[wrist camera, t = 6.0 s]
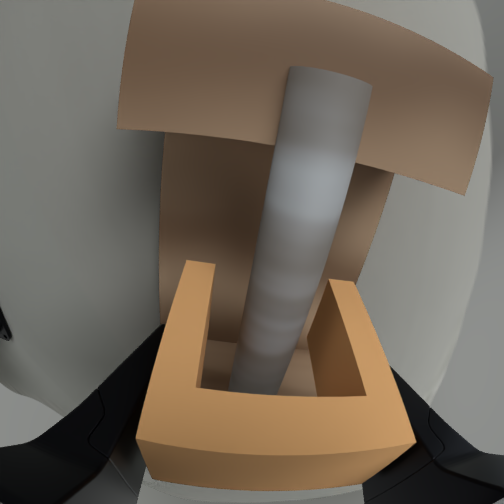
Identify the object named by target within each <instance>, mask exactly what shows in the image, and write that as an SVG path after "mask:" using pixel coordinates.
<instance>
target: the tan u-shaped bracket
mask: <svg viewBox="0 0 504 504" xmlns="http://www.w3.org/2000/svg"><path fill="white" fill-rule="evenodd" d="M215 265H216V264H212V263H205V262H198V261H191V260H186V263H185V266H184V269H183V272H182V275H181V278H180V281H179V284H178V288H177V291H176V294H175V297H174V300H173V303H172V306H171V310H170V313H169V316H168V319H167V323H166V326H165V329H164V333H163V336H162V340H161V343H160V346H159V350H158V353H157V357H156V361H155V364H154V368H153V371H152V375H151V379H150V382H149V386H148V390H147V394H146V398H145V401H144V405H143V409H142V413H141V417H140V421H139V426H138V430H137V434H136V441H137V444H138V446H139V449H140V451H141V454H142V456H143V459H144V461H145V463H146V466H147V468H148V470H149V473H150V475H151V477H152V479H155V480H160V481H166V482H171V483H177V484H184V485H191V486H199V487H207V488H217V489H230V490H249V491H292V490H311V489H324V488H334V487H342V486H350V485H357V484H362V483H363V482H365V481H366V480H368V479H369V478H371V477H372V476H374V475H375V474H376V473H378V472H379V471H381V470H382V469H383V468H385V467H386V466H387V465H389V464H390V463H391V462H393V461H394V460H395V459H396V458H398V457H399V456H400V455H401V454H403V453H404V452H405V451H406V450H408V449H409V448H410V447H411V446H412V445H414V444H415V443H416V439H415V436H414V433H413V430H412V427H411V424H410V421H409V418H408V415H407V412H406V410H405V407H404V404H403V401H402V398H401V396H400V393H399V390H398V387H397V385H396V382H395V379H394V377H393V374H392V371H391V369H390V366H389V364H388V361H387V359H386V356H385V354H384V351H383V349H382V346H381V344H380V341H379V339H378V336H377V334H376V332H375V329H374V327H373V325H372V322H371V320H370V318H369V315H368V313H367V311H366V308H365V306H364V304H363V302H362V299H361V297H360V295H359V293H358V290H357V288H356V286H355V284H354V282H352V281H343V280H335V279H328V282H327V284H326V287H325V290H324V293H323V296H322V298H321V301H320V304H319V306H318V309H317V312H316V314H315V317H314V320H313V322H312V325H311V328H310V330H309V333H308V335H307V343H308V348H309V353H310V359H311V364H312V370H313V375H314V381H315V387H316V393H317V397H302V396H277V395H261V394H249V393H238V392H228V391H219V390H211V389H203V388H200V386H201V379H202V371H203V364H204V357H205V350H206V343H207V336H208V329H209V320H210V311H211V301H212V292H213V283H214V274H215Z"/></svg>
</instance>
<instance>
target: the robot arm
mask: <svg viewBox="0 0 504 504" xmlns="http://www.w3.org/2000/svg"><path fill="white" fill-rule="evenodd" d="M165 326H166V324H161V325H160V326H159V327H158V328H157V329H156V330H155V331H154V332H153V333H152V334H151V335H150V336H149V337H148V338H147V339H146V340H145V341H144V342H143V343H142V344H141V345H140V346H139V347H138V348H137V349H136V350H135V351H134V352H133V353H132V354H131V355H130V356H129V357H128V358H127V359H126V360H125V361H124V362H123V363H122V364H121V365H120V366H119V367H118V368H117V369H116V370H115V371H114V372H113V373H112V374H111V375H110V376H109V377H108V378H107V379H106V380H105V381H104V382H103V383H102V384H101V385H100V386H99V387H98V389H95V390H94V391H93V392H92V393H91V394H90V395H89V396H88V397H87V398H86V399H85V400H84V401H83V402H82V403H81V404H80V405H79V406H78V407H76V408H75V409H74V410H73V411H72V412H70V413H69V414H68V415H67V416H65V417H64V418H63V419H61V420H60V421H59V422H58V423H56V424H55V425H54V426H52V427H51V428H50V429H48V430H47V431H46V432H44V433H43V434H42V435H40V436H39V437H37V438H36V439H34V440H32V441H30V442H27V443H24V444H18V445H13V446H7V447H0V504H137V500H138V498H137V497H138V495H139V491H140V488H141V484H142V480H143V476H144V472H145V468H146V463H145V461H144V459H143V456H142V454H141V451H140V449H139V446H138V444H137V441H136V434H137V430H138V426H139V421H140V417H141V413H142V409H143V405H144V401H145V398H146V394H147V390H148V386H149V382H150V379H151V375H152V371H153V368H154V364H155V361H156V357H157V353H158V350H159V346H160V343H161V340H162V336H163V333H164V329H165ZM11 337H12V336H11V334H10V331H9V329H8V327H7V325H6V322H5V320H4V318H3V315H2V313H1V310H0V338H2V339H5V340H7V341H9V340H10V339H11ZM389 366H390V365H389ZM390 369H391V371H392V374H393V377H394V379H395V382H396V385H397V387H398V390H399V393H400V396H401V398H402V401H403V404H404V407H405V410H406V412H407V415H408V418H409V421H410V424H411V427H412V430H413V433H414V436H415V439H416V443H415V444H414V445H412V446H411V447H410V448H409V449H408V450H406V451H405V452H404V453H403V454H401V455H400V456H399V457H398V458H396V459H395V460H394V461H393V462H391V463H390V464H389V465H387V466H386V467H385V468H383V469H382V470H381V471H379V472H378V473H376V474H375V475H374V476H372V477H371V478H369V479H368V480H366V481H365V482H363V483H362V487H363V495H364V502H365V503H364V504H504V455H496V454H488V453H484V452H482V451H479V450H478V449H476V448H475V447H473V446H472V445H471V444H470V443H468V442H467V441H466V440H465V439H464V438H463V437H462V436H461V435H459V434H458V433H457V432H456V431H455V430H454V429H452V428H451V427H450V426H449V425H448V424H447V423H446V422H445V421H444V420H443V419H442V418H441V417H440V416H439V415H438V414H437V413H436V412H435V411H434V410H433V409H432V408H430V406H429V405H428V404H427V403H426V402H425V401H424V400H423V399H422V398H421V397H420V396H419V395H418V394H417V393H416V392H415V391H414V390H413V389H412V388H411V387H410V386H409V385H408V384H407V383H406V382H405V381H404V380H403V379H402V378H401V377H400V376H399V374H398V373H397V372H396V371H395V370H394V369H393V368H392V367H391V366H390Z"/></svg>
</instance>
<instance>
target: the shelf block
mask: <svg viewBox="0 0 504 504" xmlns="http://www.w3.org/2000/svg"><path fill="white" fill-rule="evenodd" d="M492 84H493V77H492V76H490V75H489V74H488V73H486V72H485V71H483V70H482V69H480V68H478V67H477V66H475V65H474V64H472V63H471V62H469V61H467V60H466V59H464V58H462V57H461V56H459V55H457V54H455V53H454V52H452V51H450V50H448V49H447V48H445V47H443V46H441V45H439V44H437V43H435V42H433V41H431V40H429V39H427V38H425V37H423V36H421V35H419V34H417V33H415V32H413V31H410V30H408V29H406V28H404V27H401V26H399V25H397V24H394V23H392V22H389V21H387V20H384V19H382V18H379V17H376V16H374V15H371V14H368V13H365V12H363V11H360V10H357V9H353V8H350V7H347V6H344V5H341V4H337V3H334V2H330V1H326V0H135V1H134V5H133V10H132V14H131V19H130V25H129V30H128V35H127V41H126V47H125V54H124V61H123V68H122V76H121V85H120V94H119V105H118V118H117V129H128V130H147V131H162V132H165V137H164V149H163V162H162V177H161V195H160V221H159V300H160V325H161V324H166V323H167V319H168V316H169V313H170V310H171V306H172V303H173V300H174V297H175V294H176V291H177V288H178V284H179V281H180V278H181V275H182V272H183V269H184V266H185V263H186V260H191V261H198V262H205V263H212V264H216V265H215V274H214V283H213V292H212V301H211V311H210V320H209V329H208V336H207V343H206V350H205V357H204V364H203V371H202V379H201V386H200V388H203V389H211V390H219V391H228V392H238V393H249V394H261V395H277V396H302V397H317V393H316V387H315V381H314V375H313V370H312V364H311V359H310V353H309V348H308V343H307V335H308V333H309V330H310V328H311V325H312V322H313V320H314V317H315V314H316V312H317V309H318V306H319V304H320V301H321V298H322V296H323V293H324V290H325V287H326V284H327V282H328V279H335V280H343V281H352V282H354V284H355V285H356V282H357V280H358V277H359V275H360V272H361V270H362V267H363V264H364V262H365V259H366V257H367V254H368V251H369V249H370V246H371V243H372V240H373V238H374V235H375V232H376V229H377V226H378V223H379V220H380V217H381V214H382V211H383V208H384V205H385V202H386V199H387V196H388V193H389V190H390V186H391V183H392V180H393V176H394V173H396V174H400V175H403V176H407V177H410V178H413V179H416V180H420V181H423V182H426V183H429V184H432V185H435V186H438V187H441V188H444V189H447V190H450V191H453V192H455V193H458V194H461V195H464V196H465V193H466V190H467V187H468V184H469V181H470V178H471V174H472V171H473V168H474V165H475V161H476V158H477V154H478V150H479V147H480V143H481V139H482V135H483V131H484V126H485V122H486V117H487V112H488V107H489V102H490V97H491V91H492Z"/></svg>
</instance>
